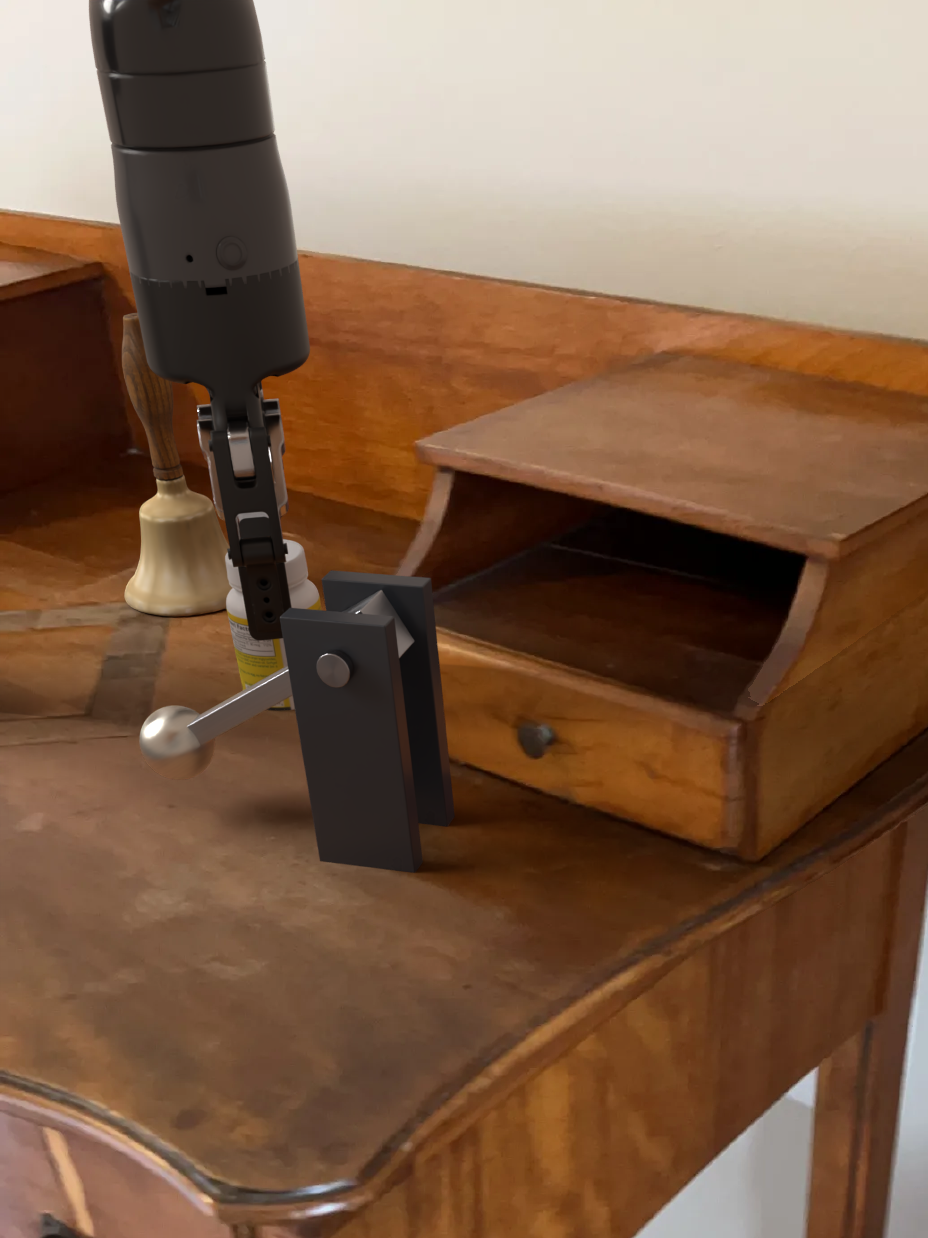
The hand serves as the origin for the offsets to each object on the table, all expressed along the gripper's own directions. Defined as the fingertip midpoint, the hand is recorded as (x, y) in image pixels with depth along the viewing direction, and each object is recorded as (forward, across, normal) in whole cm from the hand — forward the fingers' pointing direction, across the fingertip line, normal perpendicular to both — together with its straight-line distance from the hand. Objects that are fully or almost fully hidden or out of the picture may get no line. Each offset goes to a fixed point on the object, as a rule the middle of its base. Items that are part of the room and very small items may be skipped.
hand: (270, 604), depth 79 cm
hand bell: (+6, -18, -5) cm, 20 cm away
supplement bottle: (+6, 0, 0) cm, 6 cm away
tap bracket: (+6, +19, +4) cm, 20 cm away
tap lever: (-1, +17, 0) cm, 17 cm away
